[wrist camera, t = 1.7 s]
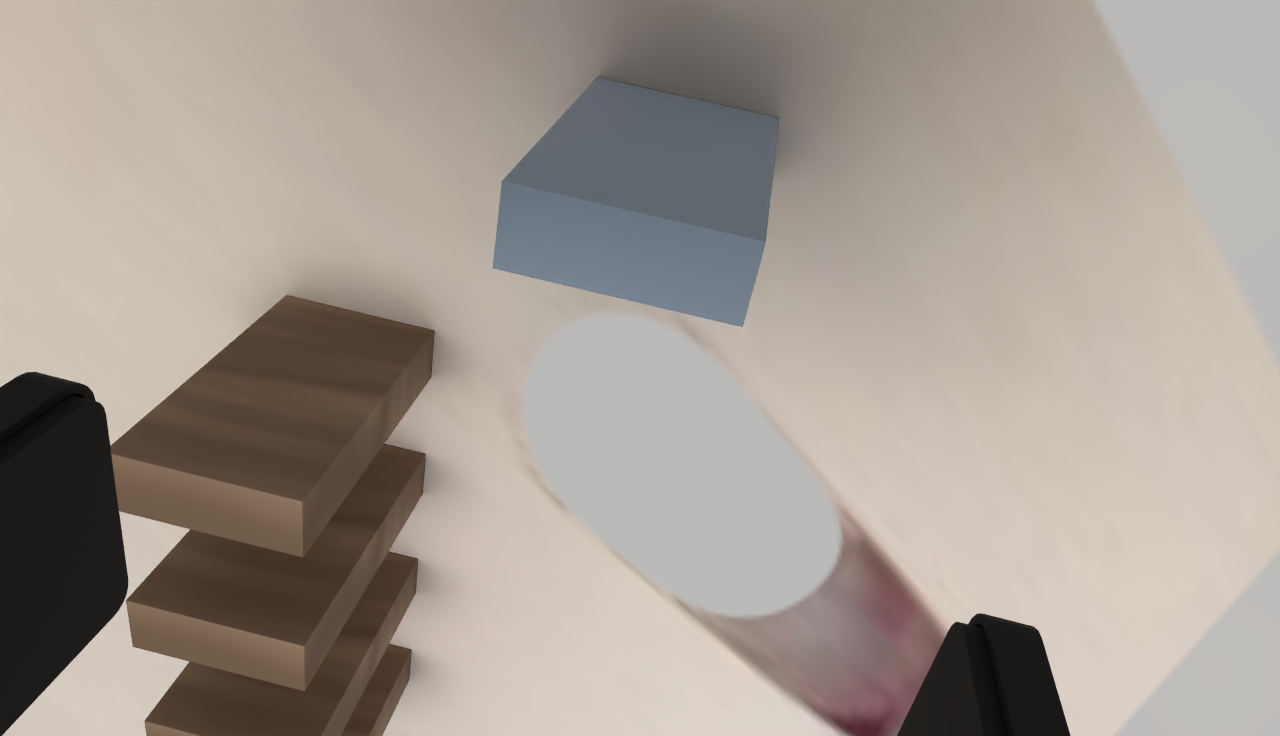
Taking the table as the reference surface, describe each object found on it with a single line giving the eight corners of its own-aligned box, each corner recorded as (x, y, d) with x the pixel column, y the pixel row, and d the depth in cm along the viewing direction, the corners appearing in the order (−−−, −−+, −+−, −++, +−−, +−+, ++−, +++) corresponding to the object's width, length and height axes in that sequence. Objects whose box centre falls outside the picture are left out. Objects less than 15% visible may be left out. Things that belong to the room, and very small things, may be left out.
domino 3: (291, 527, 35) (144, 721, 27) (418, 559, 35) (305, 763, 27) (292, 562, 36) (150, 759, 28) (415, 593, 36) (306, 800, 28)
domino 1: (286, 295, 30) (103, 452, 22) (434, 330, 30) (302, 501, 22) (287, 342, 31) (112, 509, 23) (431, 377, 30) (302, 557, 23)
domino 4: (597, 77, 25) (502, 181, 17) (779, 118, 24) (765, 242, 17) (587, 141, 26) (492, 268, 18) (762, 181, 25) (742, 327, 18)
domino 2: (289, 420, 32) (125, 600, 25) (425, 454, 32) (303, 646, 24) (290, 460, 33) (133, 646, 25) (422, 493, 33) (304, 691, 25)
